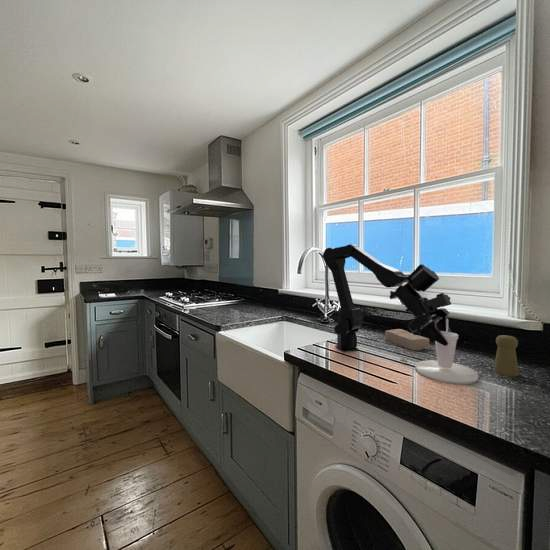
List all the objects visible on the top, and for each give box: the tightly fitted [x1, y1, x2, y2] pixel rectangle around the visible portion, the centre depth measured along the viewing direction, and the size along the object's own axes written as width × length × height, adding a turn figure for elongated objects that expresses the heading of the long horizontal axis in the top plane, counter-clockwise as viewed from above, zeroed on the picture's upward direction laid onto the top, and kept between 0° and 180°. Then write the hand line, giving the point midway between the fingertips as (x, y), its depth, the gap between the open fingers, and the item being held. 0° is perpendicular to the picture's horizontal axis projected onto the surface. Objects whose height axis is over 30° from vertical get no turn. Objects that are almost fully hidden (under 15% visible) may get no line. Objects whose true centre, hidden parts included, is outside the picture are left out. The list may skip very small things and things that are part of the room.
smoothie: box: [434, 318, 459, 368], centre depth 86 cm, size 6×6×14 cm
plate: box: [414, 359, 479, 385], centre depth 87 cm, size 16×16×1 cm
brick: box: [384, 328, 431, 351], centre depth 118 cm, size 17×8×5 cm, turn 17°
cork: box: [492, 334, 520, 377], centre depth 87 cm, size 6×6×11 cm
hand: (450, 342), depth 85 cm, fingers closed on smoothie, 6 cm apart
